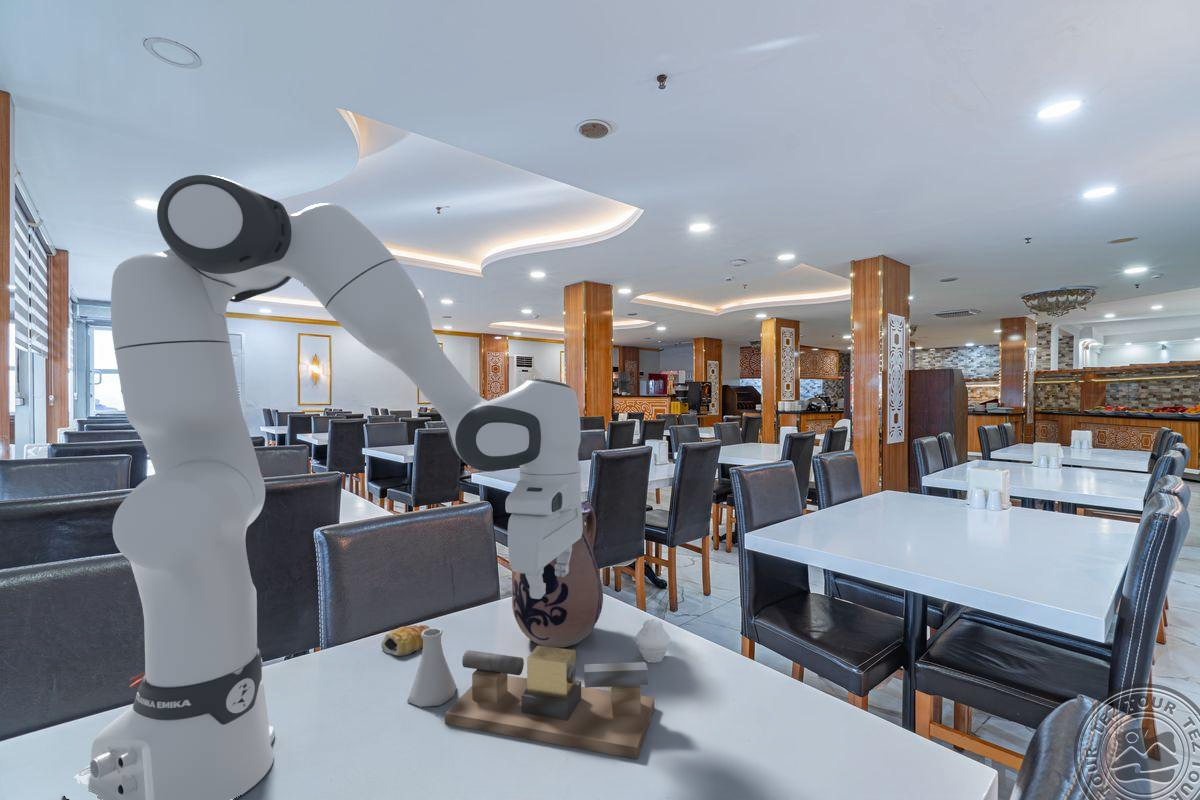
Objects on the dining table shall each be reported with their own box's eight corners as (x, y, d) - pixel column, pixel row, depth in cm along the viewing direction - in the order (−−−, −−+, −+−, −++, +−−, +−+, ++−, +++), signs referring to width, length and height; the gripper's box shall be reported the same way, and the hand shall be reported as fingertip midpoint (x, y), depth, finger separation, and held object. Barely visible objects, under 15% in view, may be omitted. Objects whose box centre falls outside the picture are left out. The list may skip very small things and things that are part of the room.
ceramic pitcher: (493, 649, 101) (493, 514, 100) (548, 608, 120) (547, 494, 120) (580, 667, 94) (579, 522, 94) (623, 620, 113) (622, 500, 113)
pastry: (419, 632, 108) (419, 613, 108) (442, 641, 105) (442, 621, 105) (377, 651, 101) (377, 631, 100) (401, 661, 97) (401, 640, 97)
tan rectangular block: (525, 692, 79) (525, 657, 79) (536, 678, 82) (536, 645, 82) (568, 698, 77) (568, 663, 77) (577, 684, 81) (577, 650, 81)
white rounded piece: (628, 659, 97) (628, 619, 96) (649, 647, 101) (649, 609, 101) (657, 671, 92) (657, 629, 92) (677, 658, 97) (677, 618, 97)
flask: (442, 711, 81) (442, 644, 81) (398, 706, 82) (398, 640, 82) (464, 685, 88) (463, 624, 88) (423, 681, 90) (422, 620, 89)
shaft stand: (445, 723, 78) (444, 669, 78) (485, 681, 89) (485, 634, 89) (637, 759, 70) (636, 699, 70) (654, 707, 81) (654, 656, 81)
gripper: (555, 479, 90) (555, 562, 90) (499, 502, 71) (499, 608, 71) (592, 481, 89) (592, 566, 89) (544, 505, 69) (544, 614, 69)
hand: (550, 585), depth 80 cm, fingers open, 8 cm apart
